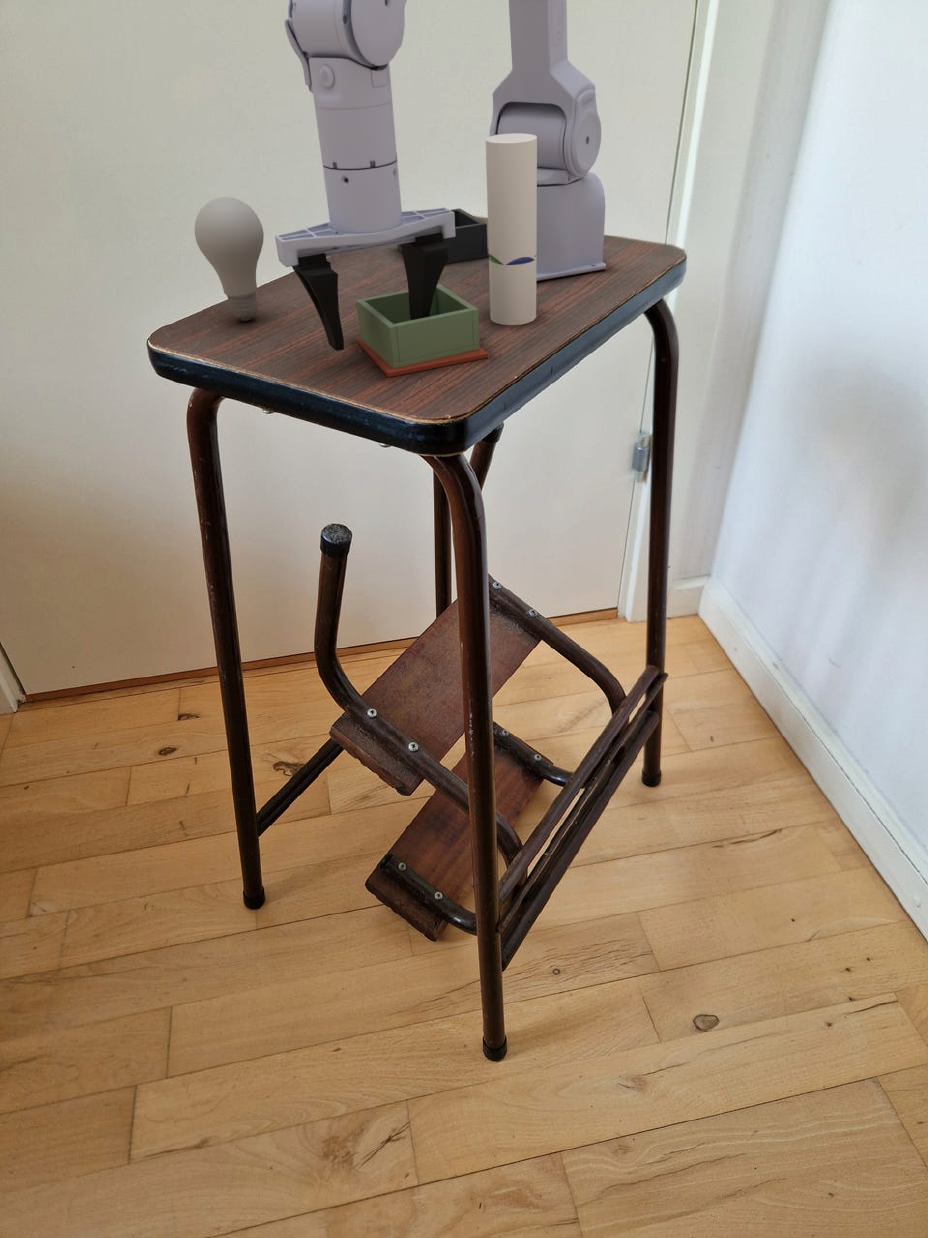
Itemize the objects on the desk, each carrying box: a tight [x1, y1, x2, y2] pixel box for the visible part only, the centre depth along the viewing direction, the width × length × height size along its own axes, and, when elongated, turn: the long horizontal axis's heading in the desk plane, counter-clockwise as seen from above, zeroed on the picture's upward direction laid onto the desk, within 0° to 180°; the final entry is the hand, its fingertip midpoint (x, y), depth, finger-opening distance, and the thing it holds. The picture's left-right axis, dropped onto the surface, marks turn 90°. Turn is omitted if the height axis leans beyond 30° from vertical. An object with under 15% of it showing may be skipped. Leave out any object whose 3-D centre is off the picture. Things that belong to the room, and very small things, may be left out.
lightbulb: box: [194, 196, 265, 322], centre depth 82 cm, size 6×6×11 cm
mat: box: [356, 337, 489, 378], centre depth 77 cm, size 9×9×1 cm
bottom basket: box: [396, 208, 489, 265], centre depth 99 cm, size 8×8×4 cm
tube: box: [485, 133, 537, 326], centre depth 78 cm, size 4×4×15 cm
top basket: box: [355, 283, 480, 369], centre depth 76 cm, size 8×8×4 cm
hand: (378, 337), depth 76 cm, fingers open, 7 cm apart
